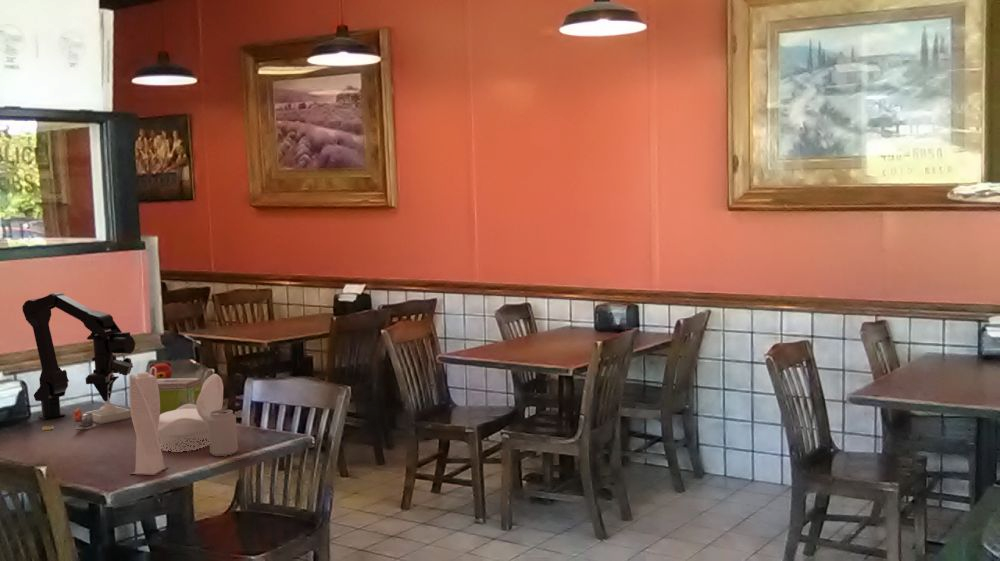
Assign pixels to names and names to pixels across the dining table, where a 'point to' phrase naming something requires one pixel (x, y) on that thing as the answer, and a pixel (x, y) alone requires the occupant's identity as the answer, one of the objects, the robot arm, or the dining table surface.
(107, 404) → the chess piece
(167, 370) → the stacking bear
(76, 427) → the crank base
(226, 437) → the can
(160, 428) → the chair
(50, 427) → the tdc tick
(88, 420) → the crank
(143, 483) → the dining table surface
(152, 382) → the skyscraper
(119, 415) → the tray
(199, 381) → the tea box
